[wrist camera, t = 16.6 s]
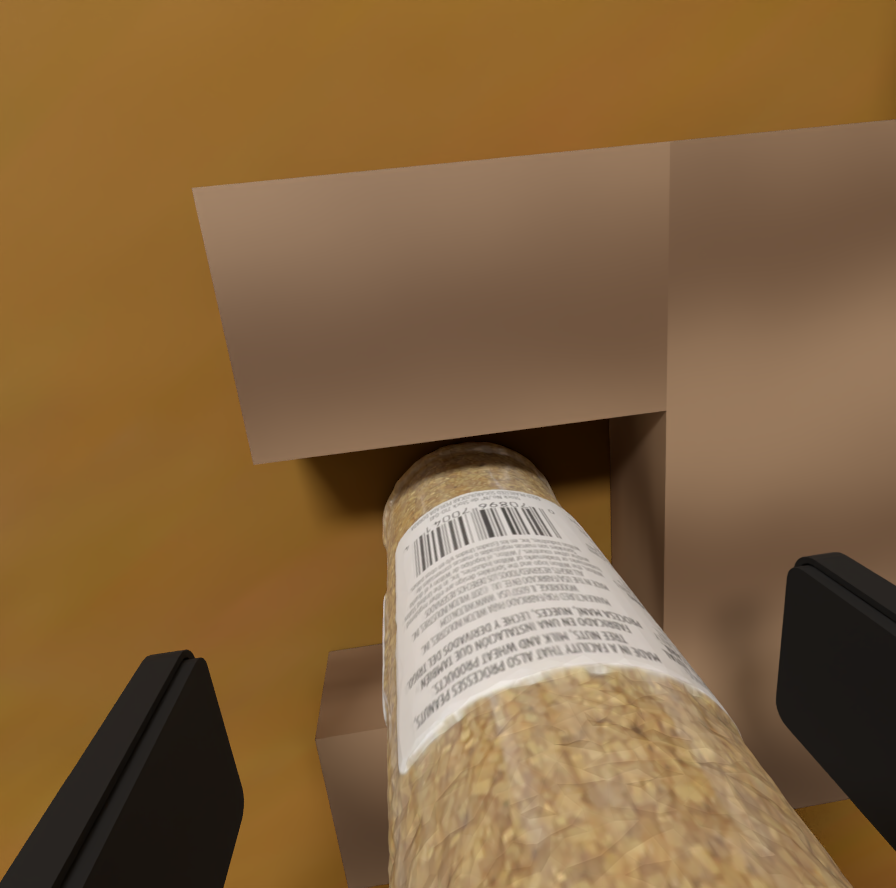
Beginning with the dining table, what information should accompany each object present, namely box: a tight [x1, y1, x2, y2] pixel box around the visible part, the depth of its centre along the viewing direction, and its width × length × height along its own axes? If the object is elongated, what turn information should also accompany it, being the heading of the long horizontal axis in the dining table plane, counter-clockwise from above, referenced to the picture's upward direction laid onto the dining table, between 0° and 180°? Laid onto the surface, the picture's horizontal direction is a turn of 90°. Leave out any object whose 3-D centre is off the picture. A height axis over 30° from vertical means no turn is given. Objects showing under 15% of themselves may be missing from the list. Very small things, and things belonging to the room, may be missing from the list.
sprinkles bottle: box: [382, 442, 853, 888], centre depth 8 cm, size 5×5×14 cm
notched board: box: [192, 119, 896, 888], centre depth 13 cm, size 16×20×3 cm
